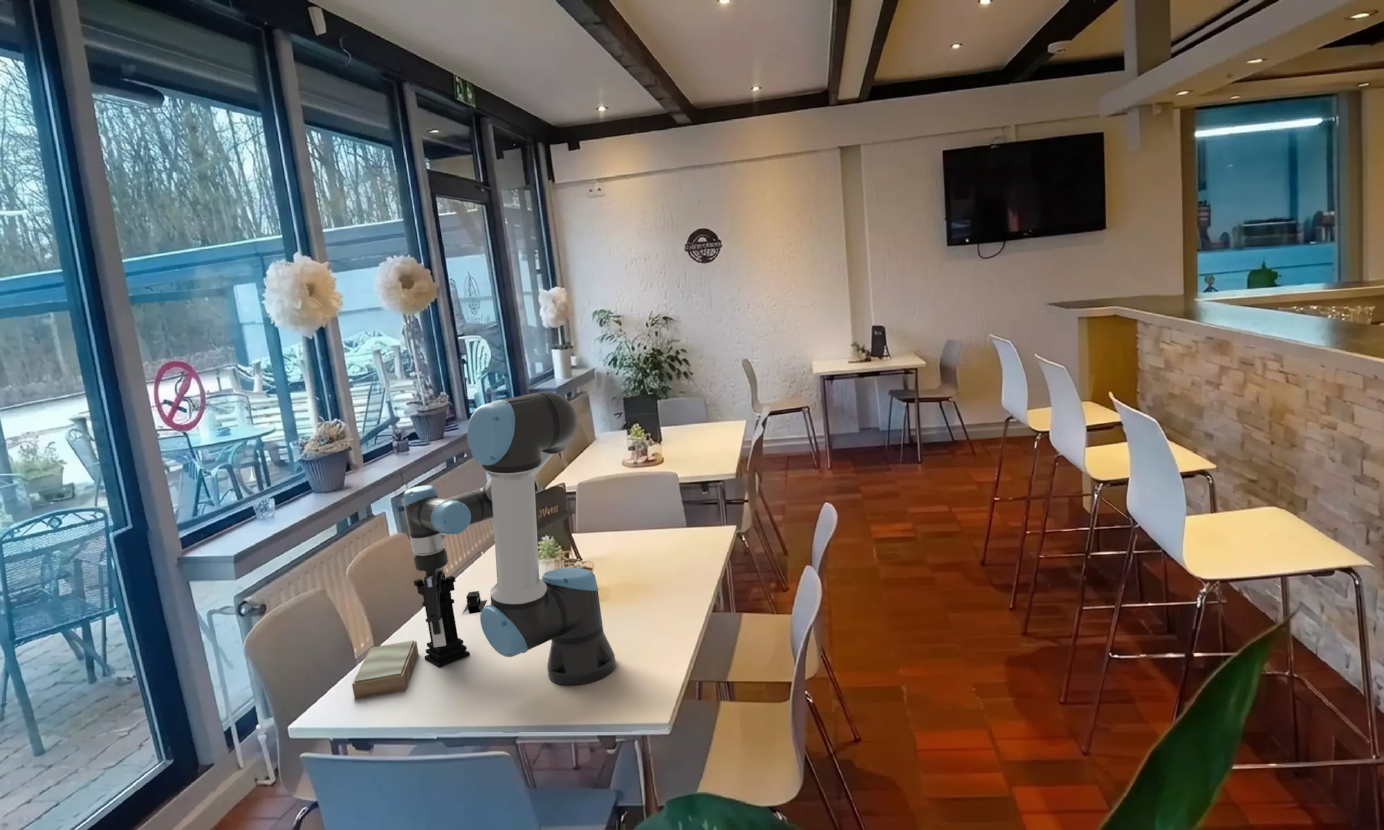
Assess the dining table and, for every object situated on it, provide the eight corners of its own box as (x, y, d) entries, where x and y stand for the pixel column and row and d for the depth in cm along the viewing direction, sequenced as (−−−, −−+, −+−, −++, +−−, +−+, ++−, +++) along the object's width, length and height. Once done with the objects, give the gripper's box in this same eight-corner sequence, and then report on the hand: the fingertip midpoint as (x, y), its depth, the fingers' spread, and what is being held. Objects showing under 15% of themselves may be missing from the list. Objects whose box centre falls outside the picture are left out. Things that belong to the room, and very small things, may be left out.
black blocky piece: (484, 616, 235) (481, 600, 235) (457, 619, 235) (454, 603, 234) (491, 599, 248) (488, 584, 247) (465, 602, 247) (463, 587, 246)
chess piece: (424, 659, 209) (411, 580, 206) (455, 647, 214) (442, 570, 211) (439, 667, 203) (425, 587, 200) (470, 655, 208) (457, 576, 205)
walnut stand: (405, 690, 193) (402, 673, 192) (354, 699, 191) (351, 682, 190) (418, 654, 212) (416, 639, 212) (372, 662, 211) (369, 646, 210)
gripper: (439, 563, 193) (453, 652, 196) (451, 534, 217) (464, 613, 220) (404, 569, 192) (420, 658, 195) (420, 538, 216) (434, 618, 219)
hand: (443, 634), depth 208 cm, fingers open, 13 cm apart
